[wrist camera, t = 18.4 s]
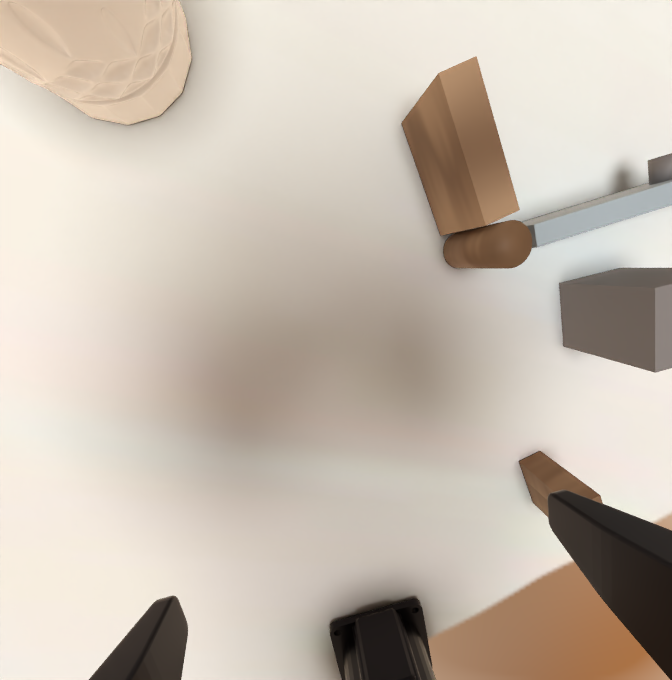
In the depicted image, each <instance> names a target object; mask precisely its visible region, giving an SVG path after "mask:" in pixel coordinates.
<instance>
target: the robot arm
mask: <svg viewBox="0 0 672 680" xmlns="http://www.w3.org/2000/svg"><path fill="white" fill-rule="evenodd" d="M547 501H548V519H549V524H550V527H551V529H552V531H553V532H554V534H555V535H556V536H557V538H558V539H559V541H560V542H561V543H562V545H563V546H564V548H565V549H566V550H567V552H568V553H569V554H570V556H571V557H572V559H573V560H574V561H575V563H576V564H577V565H578V567H579V568H580V570H581V571H582V572H583V573H584V575H585V577H586V578H587V579H588V580H589V582H590V583H591V585H592V586H593V588H594V589H595V590H596V591H597V593H598V594H599V595H600V597H601V598H602V599H603V601H604V602H605V603H606V604H607V605H608V607H609V608H610V609H611V610H612V611H613V613H614V614H615V615H616V616H617V617H618V619H619V620H620V621H621V622H622V623H623V624H624V626H625V627H626V628H627V629H628V630H629V631H630V633H631V634H632V635H633V636H634V637H635V639H636V640H637V641H638V642H639V643H640V644H641V646H642V647H643V648H644V649H645V650H646V651H647V653H648V654H649V655H650V656H651V657H652V658H653V660H654V661H655V662H656V663H657V664H658V665H659V667H660V668H661V669H662V670H663V671H664V673H665V674H666V675H667V676H668V677H669V678H670V680H672V531H671V530H669V529H666V528H664V527H661V526H659V525H656V524H653V523H651V522H648V521H646V520H643V519H640V518H638V517H635V516H633V515H630V514H628V513H625V512H622V511H620V510H617V509H615V508H612V507H610V506H607V505H604V504H602V503H599V502H597V501H594V500H591V499H589V498H586V497H584V496H581V495H579V494H576V493H573V492H571V491H568V490H559V491H556V492H552V493H550V494H549V495H548V497H547ZM187 636H188V625H187V621H186V618H185V615H184V613H183V610H182V608H181V605H180V603H179V600H178V598H177V597H176V596H170V597H166V598H162V599H159V600H157V601H155V602H154V603H153V604H152V605H151V607H150V608H149V609H148V610H147V611H146V612H145V614H144V615H143V616H142V617H141V618H140V620H139V621H138V622H137V623H136V624H135V626H134V627H133V628H132V629H131V630H130V632H129V633H128V634H127V635H126V636H125V637H124V639H123V640H122V641H121V642H120V643H119V645H118V646H117V647H116V648H115V649H114V651H113V652H112V653H111V654H110V655H109V656H108V658H107V659H106V660H105V661H104V662H103V664H102V665H101V666H100V667H99V668H98V670H97V671H96V672H95V673H94V674H93V675H92V677H91V678H90V679H89V680H181V677H182V670H183V663H184V656H185V650H186V643H187ZM330 636H331V640H332V644H333V648H334V651H335V655H336V659H337V663H338V667H339V671H340V674H341V678H342V680H436V678H435V675H434V672H433V670H432V662H431V656H430V651H429V645H428V639H427V633H426V628H425V622H424V616H423V610H422V607H421V604H420V602H419V600H418V599H411V600H408V601H404V602H401V603H397V604H394V605H390V606H387V607H383V608H380V609H376V610H373V611H369V612H366V613H362V614H359V615H355V616H352V617H348V618H345V619H341V620H338V621H335V622H333V623H332V624H331V625H330Z"/></svg>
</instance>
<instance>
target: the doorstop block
mask: <svg viewBox="0 0 672 680" xmlns="http://www.w3.org/2000/svg"><path fill="white" fill-rule="evenodd" d="M559 289H560V304H561V319H562V334H563V346H564V347H568V348H571V349H575V350H578V351H582V352H585V353H589V354H592V355H596V356H599V357H603V358H606V359H610V360H613V361H617V362H620V363H624V364H627V365H631V366H634V367H638V368H641V369H645V370H648V371H652V372H659V371H662V370H666V369H670V368H672V268H618V269H614V270H610V271H606V272H602V273H598V274H594V275H590V276H586V277H582V278H578V279H574V280H570V281H566V282H562V283H559Z"/></svg>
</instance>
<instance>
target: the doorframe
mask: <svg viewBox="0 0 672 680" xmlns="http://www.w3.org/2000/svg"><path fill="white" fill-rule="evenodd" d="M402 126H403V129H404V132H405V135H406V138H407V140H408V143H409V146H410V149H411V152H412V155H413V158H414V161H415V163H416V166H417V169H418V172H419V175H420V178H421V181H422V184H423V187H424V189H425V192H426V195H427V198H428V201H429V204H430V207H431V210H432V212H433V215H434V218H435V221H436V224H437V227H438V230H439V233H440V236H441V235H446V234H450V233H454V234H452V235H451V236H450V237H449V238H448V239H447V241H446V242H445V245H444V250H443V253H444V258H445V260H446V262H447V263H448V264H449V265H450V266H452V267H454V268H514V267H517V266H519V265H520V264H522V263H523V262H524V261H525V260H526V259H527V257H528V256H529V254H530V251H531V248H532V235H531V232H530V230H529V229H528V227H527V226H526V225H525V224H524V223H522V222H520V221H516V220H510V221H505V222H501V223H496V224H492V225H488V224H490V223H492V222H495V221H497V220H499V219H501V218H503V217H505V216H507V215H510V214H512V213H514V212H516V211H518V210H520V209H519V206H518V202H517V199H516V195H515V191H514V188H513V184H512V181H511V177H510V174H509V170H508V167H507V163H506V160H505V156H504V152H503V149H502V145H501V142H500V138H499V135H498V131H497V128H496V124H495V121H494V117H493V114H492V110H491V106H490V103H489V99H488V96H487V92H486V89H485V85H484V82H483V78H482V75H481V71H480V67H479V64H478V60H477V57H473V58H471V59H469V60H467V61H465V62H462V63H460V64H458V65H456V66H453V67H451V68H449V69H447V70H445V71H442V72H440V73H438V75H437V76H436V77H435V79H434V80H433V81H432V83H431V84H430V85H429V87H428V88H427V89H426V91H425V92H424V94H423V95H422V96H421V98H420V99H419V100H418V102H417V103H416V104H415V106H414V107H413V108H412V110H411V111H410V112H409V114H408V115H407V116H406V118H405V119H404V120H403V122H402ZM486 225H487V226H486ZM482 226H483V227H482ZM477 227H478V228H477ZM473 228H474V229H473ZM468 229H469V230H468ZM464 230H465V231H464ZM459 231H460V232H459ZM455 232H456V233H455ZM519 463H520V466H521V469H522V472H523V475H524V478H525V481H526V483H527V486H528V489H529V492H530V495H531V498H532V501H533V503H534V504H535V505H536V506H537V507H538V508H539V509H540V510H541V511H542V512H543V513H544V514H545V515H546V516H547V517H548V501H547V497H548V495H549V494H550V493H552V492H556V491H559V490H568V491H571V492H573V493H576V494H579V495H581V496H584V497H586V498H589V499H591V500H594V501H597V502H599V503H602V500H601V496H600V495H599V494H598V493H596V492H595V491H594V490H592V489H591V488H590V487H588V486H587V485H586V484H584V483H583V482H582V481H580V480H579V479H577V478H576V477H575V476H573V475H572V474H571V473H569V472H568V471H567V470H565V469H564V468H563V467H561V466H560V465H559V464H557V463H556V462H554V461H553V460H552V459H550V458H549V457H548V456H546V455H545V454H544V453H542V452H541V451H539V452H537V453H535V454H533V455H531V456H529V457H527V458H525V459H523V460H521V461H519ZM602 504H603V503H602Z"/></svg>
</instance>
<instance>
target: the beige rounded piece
mask: <svg viewBox="0 0 672 680" xmlns="http://www.w3.org/2000/svg"><path fill="white" fill-rule="evenodd" d="M191 59H192V56H191V50H190V43H189V36H188V29H187V23H186V17H185V15H184V12H183V9H182V6H181V4H180V1H179V0H0V64H2V65H3V66H5V67H7V68H8V69H10V70H12V71H13V72H15V73H17V74H19V75H20V76H22V77H24V78H25V79H27V80H28V81H30V82H31V83H34V84H36V85H39V86H41V87H43V88H46V89H48V90H49V91H51V92H53V93H54V94H56V95H58V96H60V97H61V98H63V99H64V100H66V101H67V102H69V103H70V104H72V105H73V106H75V107H76V108H78V109H79V110H81V111H82V112H84V113H85V114H87V115H88V116H90V117H92V118H95V119H101V120H106V121H111V122H116V123H121V124H126V125H130V124H133V123H137V122H140V121H143V120H147V119H150V118H154V117H157V116H160V115H161V114H162V113H163V112H164V111H165V110H166V109H167V108H168V107H169V106H170V105H171V104H172V103H173V101H174V100H175V99H176V98H177V97H178V96H179V95H180V94H181V93H182V91H183V88H184V84H185V81H186V77H187V73H188V70H189V66H190V63H191Z"/></svg>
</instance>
